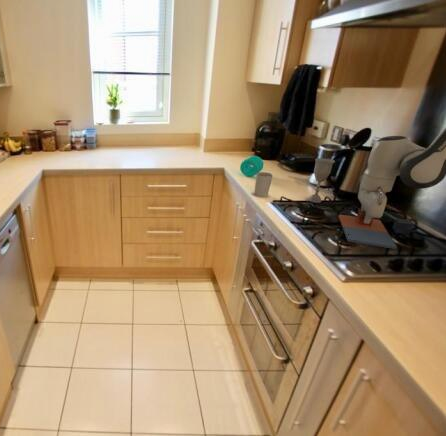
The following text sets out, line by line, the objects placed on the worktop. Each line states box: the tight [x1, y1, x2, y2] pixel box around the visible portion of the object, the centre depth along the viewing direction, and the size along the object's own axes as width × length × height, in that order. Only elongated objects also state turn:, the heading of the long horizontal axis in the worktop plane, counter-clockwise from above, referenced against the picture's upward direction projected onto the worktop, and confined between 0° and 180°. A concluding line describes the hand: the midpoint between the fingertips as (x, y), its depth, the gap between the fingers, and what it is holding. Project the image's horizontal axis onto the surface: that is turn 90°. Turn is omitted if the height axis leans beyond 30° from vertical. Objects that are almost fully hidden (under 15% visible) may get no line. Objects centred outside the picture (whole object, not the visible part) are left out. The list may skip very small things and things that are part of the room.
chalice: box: [308, 157, 336, 204], centre depth 136 cm, size 7×7×18 cm
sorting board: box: [338, 214, 398, 250], centre depth 112 cm, size 13×22×1 cm, turn 154°
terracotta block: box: [356, 209, 375, 226], centre depth 115 cm, size 4×4×4 cm
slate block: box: [391, 217, 414, 235], centre depth 111 cm, size 4×4×4 cm
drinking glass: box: [253, 171, 273, 198], centre depth 145 cm, size 7×7×10 cm
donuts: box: [239, 155, 264, 178], centre depth 174 cm, size 10×10×10 cm
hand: (364, 219), depth 115 cm, fingers open, 4 cm apart
